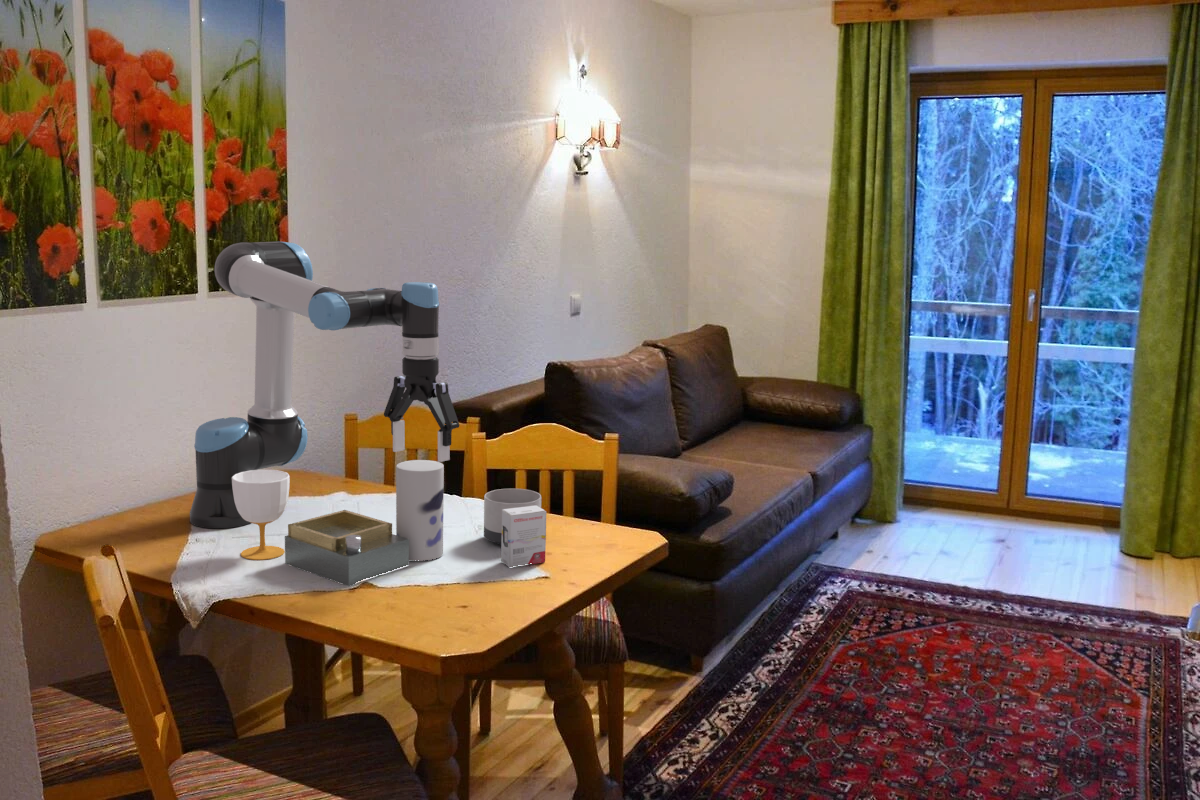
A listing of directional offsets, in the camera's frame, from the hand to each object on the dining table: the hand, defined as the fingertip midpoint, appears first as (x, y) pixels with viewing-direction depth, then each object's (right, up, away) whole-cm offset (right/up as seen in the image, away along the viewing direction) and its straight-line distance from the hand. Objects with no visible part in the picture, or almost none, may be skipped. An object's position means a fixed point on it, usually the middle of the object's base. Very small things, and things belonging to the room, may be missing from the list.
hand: (420, 455), depth 233 cm
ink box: (+22, -23, +1) cm, 32 cm away
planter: (+18, -20, +16) cm, 32 cm away
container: (-1, -22, +4) cm, 22 cm away
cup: (-34, -21, +2) cm, 40 cm away
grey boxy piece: (-15, -23, -4) cm, 27 cm away
